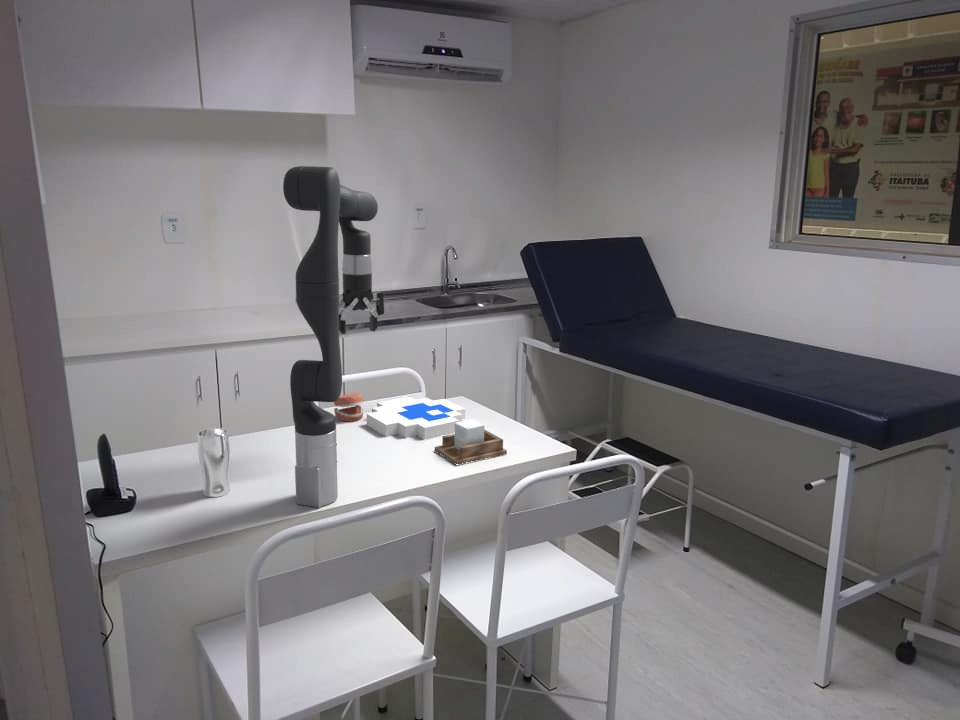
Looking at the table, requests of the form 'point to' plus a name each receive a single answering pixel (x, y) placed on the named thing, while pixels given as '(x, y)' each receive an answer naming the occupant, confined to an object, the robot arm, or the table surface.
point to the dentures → (349, 412)
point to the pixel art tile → (415, 417)
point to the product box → (468, 433)
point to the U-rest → (471, 449)
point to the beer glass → (214, 460)
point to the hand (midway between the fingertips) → (358, 332)
